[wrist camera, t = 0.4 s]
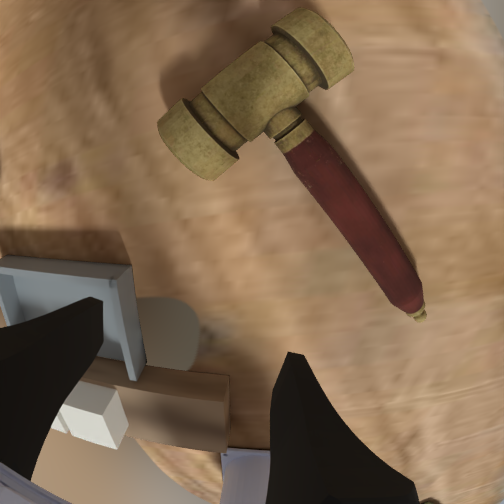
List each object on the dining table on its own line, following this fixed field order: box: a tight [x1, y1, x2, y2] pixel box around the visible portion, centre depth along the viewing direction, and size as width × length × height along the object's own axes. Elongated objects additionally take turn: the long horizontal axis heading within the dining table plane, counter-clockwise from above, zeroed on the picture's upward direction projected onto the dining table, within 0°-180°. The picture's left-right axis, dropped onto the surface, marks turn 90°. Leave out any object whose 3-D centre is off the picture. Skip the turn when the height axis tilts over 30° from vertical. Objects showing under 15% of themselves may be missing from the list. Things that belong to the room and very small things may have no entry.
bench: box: [79, 356, 231, 453], centre depth 25 cm, size 7×19×3 cm, turn 89°
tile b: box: [60, 381, 129, 449], centre depth 22 cm, size 4×4×3 cm
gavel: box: [157, 7, 427, 323], centre depth 18 cm, size 21×5×10 cm
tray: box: [0, 255, 147, 381], centre depth 22 cm, size 9×13×2 cm, turn 89°
